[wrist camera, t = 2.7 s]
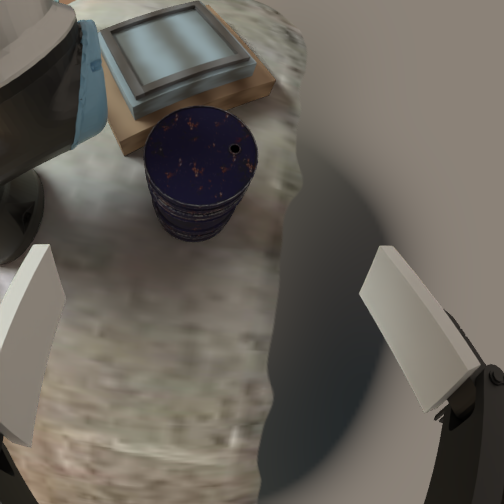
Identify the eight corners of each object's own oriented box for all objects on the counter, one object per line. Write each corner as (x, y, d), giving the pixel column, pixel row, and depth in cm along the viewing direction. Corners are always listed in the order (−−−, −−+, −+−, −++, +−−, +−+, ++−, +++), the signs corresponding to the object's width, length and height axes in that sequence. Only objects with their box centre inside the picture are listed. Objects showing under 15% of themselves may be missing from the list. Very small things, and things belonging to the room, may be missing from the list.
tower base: (124, 156, 37) (114, 126, 30) (82, 63, 38) (73, 32, 30) (268, 95, 44) (283, 64, 36) (205, 19, 44) (211, -11, 37)
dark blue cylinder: (159, 247, 37) (144, 214, 22) (152, 174, 38) (140, 110, 23) (237, 237, 39) (269, 201, 25) (226, 167, 40) (250, 102, 26)
